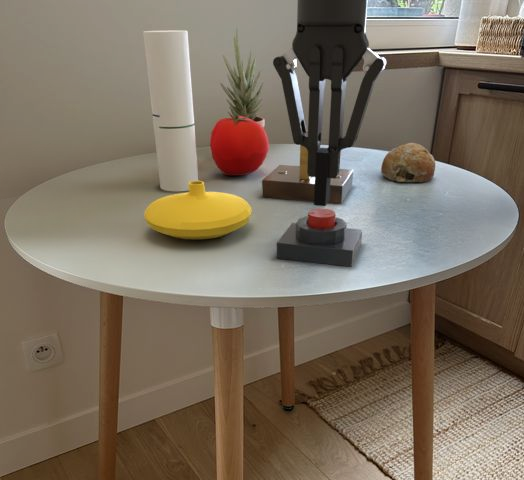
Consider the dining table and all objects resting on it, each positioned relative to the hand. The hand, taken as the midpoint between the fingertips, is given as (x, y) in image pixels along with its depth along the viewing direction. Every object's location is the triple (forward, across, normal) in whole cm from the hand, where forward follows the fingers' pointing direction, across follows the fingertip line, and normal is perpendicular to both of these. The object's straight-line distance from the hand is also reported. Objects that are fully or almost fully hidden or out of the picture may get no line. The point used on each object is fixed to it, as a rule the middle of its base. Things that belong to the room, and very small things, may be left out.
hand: (321, 202), depth 70 cm
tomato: (+7, -24, +35) cm, 43 cm away
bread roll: (+7, +8, +42) cm, 43 cm away
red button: (+3, 0, 0) cm, 3 cm away
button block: (+7, 0, 0) cm, 7 cm away
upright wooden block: (+4, -8, +27) cm, 28 cm away
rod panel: (+7, -8, +27) cm, 29 cm away
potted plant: (+7, -29, +52) cm, 60 cm away
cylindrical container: (+7, -32, +24) cm, 41 cm away
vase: (+7, -19, +3) cm, 20 cm away
